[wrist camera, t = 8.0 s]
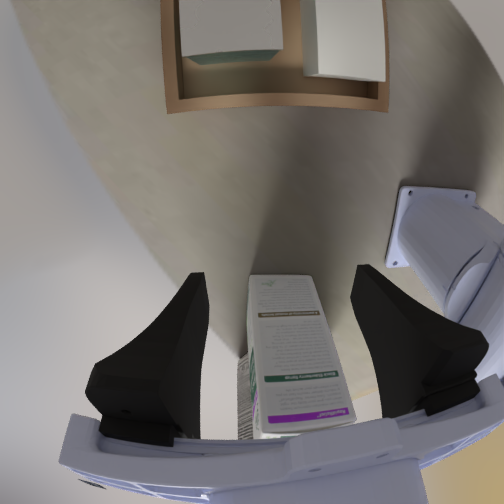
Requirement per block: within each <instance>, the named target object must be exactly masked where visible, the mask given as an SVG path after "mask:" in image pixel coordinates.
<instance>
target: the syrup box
mask: <svg viewBox="0 0 504 504" xmlns="http://www.w3.org/2000/svg"><path fill="white" fill-rule="evenodd" d="M246 324H247V341H248V360H249V377H250V394H251V409H252V423H253V438H254V439H271V438H284V437H294V436H297V435H300V434H302V433H307V432H312V431H316V430H323V429H330V428H336V427H342V426H347V425H352V424H353V423H354V422H355V421H356V420H357V418H356V415H355V411H354V408H353V404H352V401H351V397H350V394H349V390H348V387H347V383H346V380H345V377H344V373H343V370H342V367H341V363H340V360H339V357H338V354H337V350H336V347H335V344H334V341H333V338H332V334H331V332H330V328H329V326H328V323H327V320H326V317H325V314H324V311H323V308H322V305H321V302H320V299H319V296H318V293H317V290H316V287H315V285H314V282H313V279H312V277H311V276H309V275H250V276H249V284H248V294H247V316H246Z"/></svg>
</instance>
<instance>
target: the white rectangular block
mask: <svg viewBox="0 0 504 504" xmlns="http://www.w3.org/2000/svg"><path fill="white" fill-rule="evenodd" d="M300 13H301V30H302V54H303V76H308V77H325V78H337V79H347V80H355V81H379V82H385V36H384V20H383V8H382V0H300Z"/></svg>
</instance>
